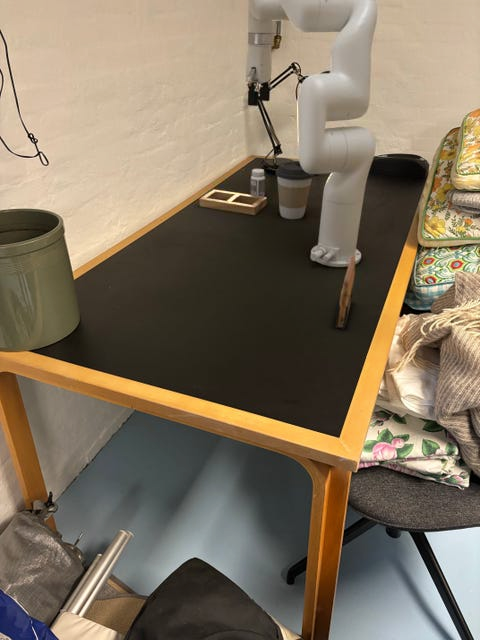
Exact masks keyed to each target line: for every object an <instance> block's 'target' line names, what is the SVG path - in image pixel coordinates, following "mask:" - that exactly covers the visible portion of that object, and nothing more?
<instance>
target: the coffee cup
mask: <svg viewBox="0 0 480 640" xmlns="http://www.w3.org/2000/svg"><path fill="white" fill-rule="evenodd" d="M275 176H276V177H277V191H278V205H279V206H278V207H279V213H280V217H282V218H283V219H287V220H298V219H302V218H303V217H304V216H305V215H304V214H305V213H306V208H307V203H308V199H309V194H310V190H311V185H312V180H313V178H314V177H315V174H309V173H306V172H305V171H304V170H303V169H302V167H301V165H300V162H299V160H298V161H295V160H293V161H292V160H289V161H284V162H281V163H280V164H279V165H278V168H277V169H276V170H275Z"/></svg>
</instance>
